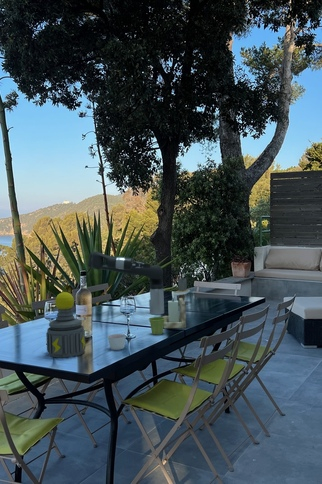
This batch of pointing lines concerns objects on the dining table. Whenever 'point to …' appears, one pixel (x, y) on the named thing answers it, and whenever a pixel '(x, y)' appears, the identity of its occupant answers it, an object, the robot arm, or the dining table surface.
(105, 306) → the dining table surface
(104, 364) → the dining table surface
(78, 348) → the decorative lamp
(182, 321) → the beige l-shaped stand
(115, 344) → the candle
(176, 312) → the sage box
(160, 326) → the plant pot
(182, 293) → the architectural model
